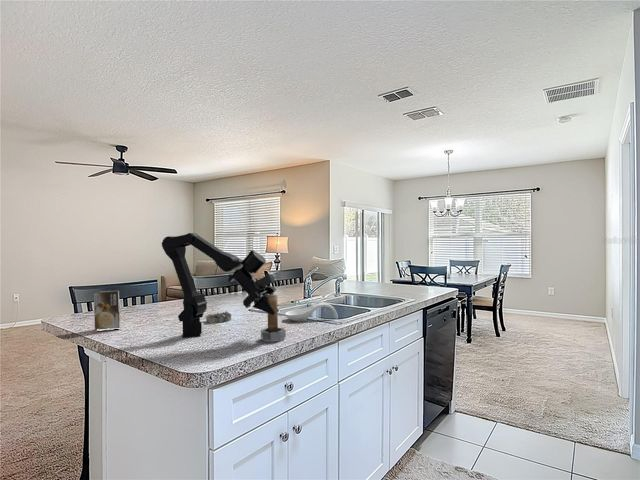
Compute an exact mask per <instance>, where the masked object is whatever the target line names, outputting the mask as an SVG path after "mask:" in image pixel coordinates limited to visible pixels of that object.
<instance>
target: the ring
mask: <svg viewBox="0 0 640 480" xmlns="http://www.w3.org/2000/svg"><path fill="white" fill-rule="evenodd" d="M286 334H287V333H286V329H285V328H284V327H278V331H277V332H268V327H265V328H262V329H260V338H261V341H262V342H265V343H278V342H282V341H285V339H286V337H287V336H286Z"/></svg>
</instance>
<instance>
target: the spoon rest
mask: <svg viewBox="0 0 640 480" xmlns="http://www.w3.org/2000/svg"><path fill="white" fill-rule="evenodd" d="M322 307H326V308H329V309H330V310H331V311H332V313H333V318H334V319H335V320H337V319H339V318H338V316H339V315H338V313H337V310H336V308H335V307H334V306H333V305H331V304H329V303H326V302H320V303H316V304H313V305H310V306H307V307H304V308H299V309H293V310H289V311H286V312H285V313H284V315H285V317H286V318H287V319H289V320H290V321H292V322H305V321H306V320H307V319H309V318H310V317H311V316H312V314H313V313H314V312H315V311H316V310H318V309H319V308H322Z"/></svg>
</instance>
